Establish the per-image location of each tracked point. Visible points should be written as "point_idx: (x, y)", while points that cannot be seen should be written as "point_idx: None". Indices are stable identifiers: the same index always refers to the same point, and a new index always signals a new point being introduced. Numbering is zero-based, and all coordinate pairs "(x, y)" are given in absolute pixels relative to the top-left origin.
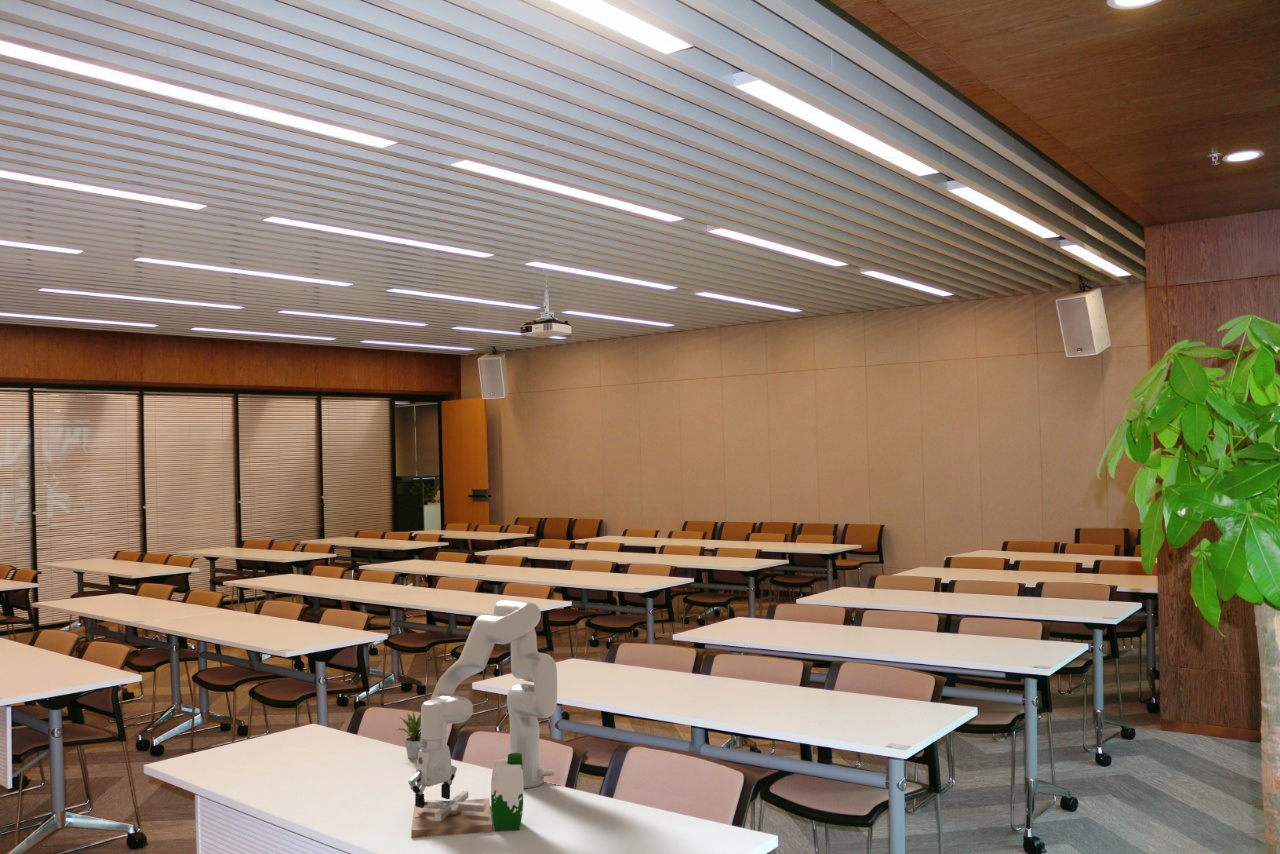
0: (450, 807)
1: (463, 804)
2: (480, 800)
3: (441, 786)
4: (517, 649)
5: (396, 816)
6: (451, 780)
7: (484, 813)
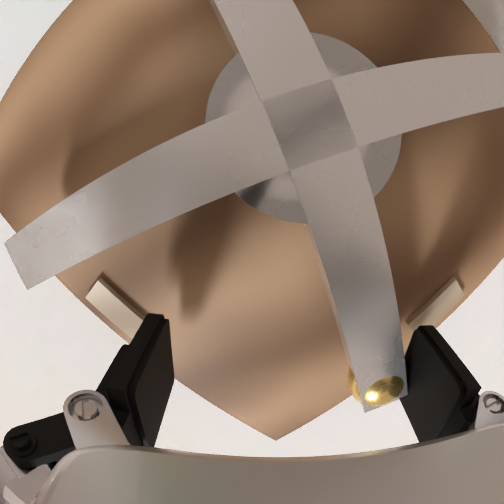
0: (404, 63)
1: None
2: (1, 180)
3: (155, 441)
4: None
5: (370, 413)
6: (58, 423)
7: None
